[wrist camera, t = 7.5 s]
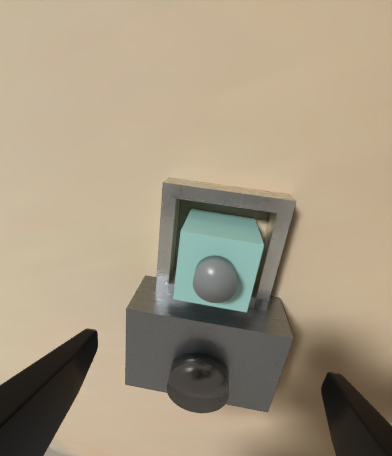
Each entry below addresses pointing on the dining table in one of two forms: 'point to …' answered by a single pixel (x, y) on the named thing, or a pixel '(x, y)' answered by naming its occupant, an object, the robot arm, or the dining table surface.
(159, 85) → the dining table surface
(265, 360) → the square frame
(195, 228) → the mint block with knob
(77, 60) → the dining table surface
